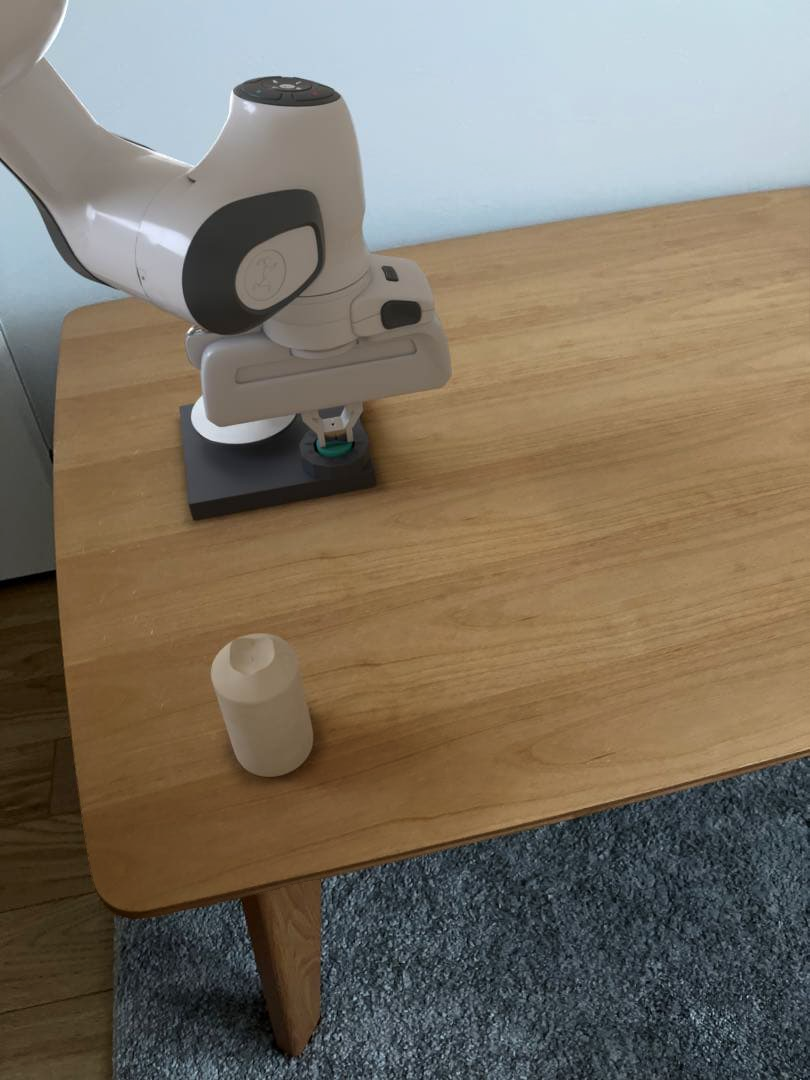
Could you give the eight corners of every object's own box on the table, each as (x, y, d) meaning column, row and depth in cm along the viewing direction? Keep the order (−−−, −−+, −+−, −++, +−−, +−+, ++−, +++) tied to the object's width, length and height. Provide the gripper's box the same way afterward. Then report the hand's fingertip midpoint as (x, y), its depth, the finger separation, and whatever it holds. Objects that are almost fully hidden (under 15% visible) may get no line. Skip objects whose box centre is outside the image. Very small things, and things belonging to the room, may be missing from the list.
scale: (193, 524, 85) (184, 493, 83) (183, 421, 95) (175, 392, 93) (378, 489, 87) (375, 458, 85) (349, 392, 97) (345, 362, 95)
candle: (218, 746, 69) (188, 656, 62) (277, 697, 72) (254, 604, 65) (271, 793, 67) (245, 703, 60) (330, 739, 69) (313, 648, 62)
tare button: (321, 469, 86) (319, 455, 85) (316, 447, 88) (313, 433, 87) (355, 462, 86) (354, 448, 85) (349, 441, 89) (348, 427, 87)
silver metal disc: (195, 455, 86) (194, 452, 86) (188, 391, 93) (187, 387, 93) (306, 436, 87) (305, 432, 87) (291, 373, 94) (290, 369, 94)
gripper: (181, 345, 73) (217, 486, 83) (455, 299, 75) (458, 442, 85) (176, 300, 77) (211, 439, 87) (435, 257, 80) (440, 398, 89)
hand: (335, 440), depth 86 cm, fingers closed, pressing on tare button
